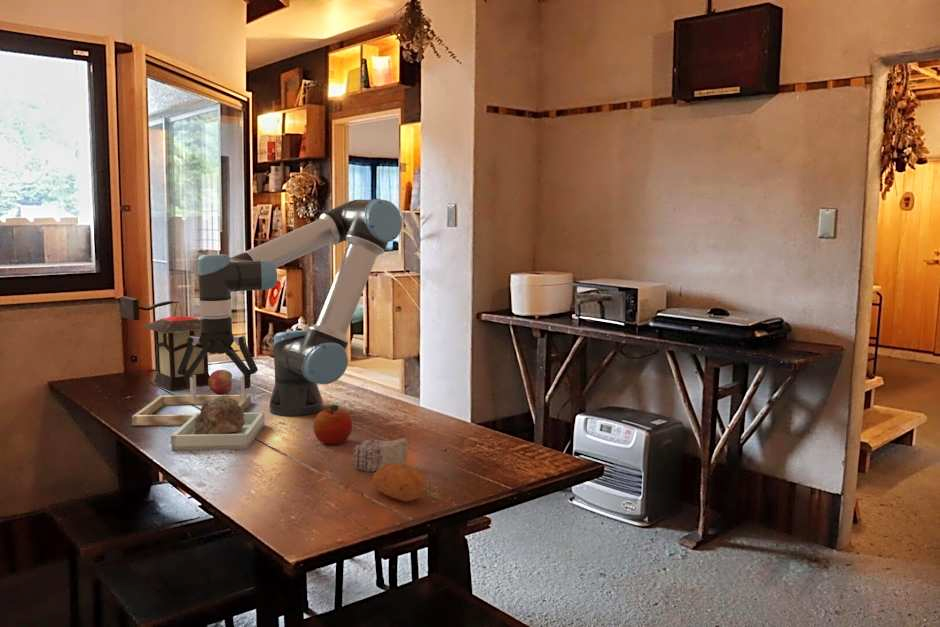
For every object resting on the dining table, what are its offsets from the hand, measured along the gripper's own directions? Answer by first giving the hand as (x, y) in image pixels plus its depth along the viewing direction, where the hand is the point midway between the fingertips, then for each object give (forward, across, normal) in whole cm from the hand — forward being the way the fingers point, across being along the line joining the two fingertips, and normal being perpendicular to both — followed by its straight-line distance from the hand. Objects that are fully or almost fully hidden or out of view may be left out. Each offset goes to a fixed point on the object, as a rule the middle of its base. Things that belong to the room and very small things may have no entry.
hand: (219, 401), depth 199 cm
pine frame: (+9, +13, -24) cm, 29 cm away
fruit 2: (+10, -29, +6) cm, 31 cm away
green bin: (+9, 0, 0) cm, 9 cm away
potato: (+10, -46, +45) cm, 65 cm away
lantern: (+10, +30, -59) cm, 67 cm away
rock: (+8, 0, 0) cm, 8 cm away
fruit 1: (+10, +11, -46) cm, 48 cm away
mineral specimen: (+10, -41, +26) cm, 49 cm away
